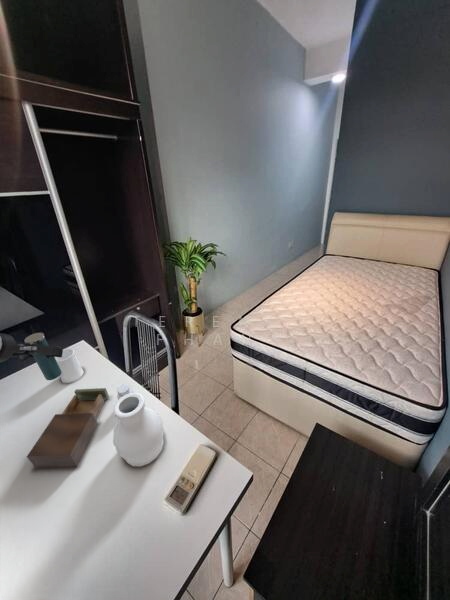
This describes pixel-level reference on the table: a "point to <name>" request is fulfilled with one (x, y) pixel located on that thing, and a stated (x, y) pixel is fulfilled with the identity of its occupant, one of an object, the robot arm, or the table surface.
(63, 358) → the mug
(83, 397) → the drawer
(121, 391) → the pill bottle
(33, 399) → the table surface
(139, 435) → the vase
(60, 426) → the drawer cabinet
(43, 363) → the tin
